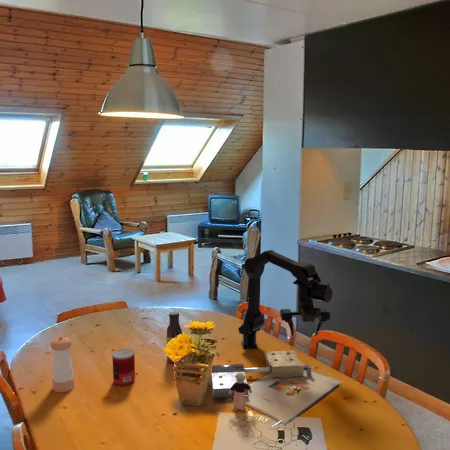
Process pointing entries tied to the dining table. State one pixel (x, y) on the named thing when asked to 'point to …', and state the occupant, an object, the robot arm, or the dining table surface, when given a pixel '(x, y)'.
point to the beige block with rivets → (284, 363)
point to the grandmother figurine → (239, 392)
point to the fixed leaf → (234, 377)
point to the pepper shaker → (62, 365)
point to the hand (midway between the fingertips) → (304, 335)
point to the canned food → (123, 367)
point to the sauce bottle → (173, 328)
